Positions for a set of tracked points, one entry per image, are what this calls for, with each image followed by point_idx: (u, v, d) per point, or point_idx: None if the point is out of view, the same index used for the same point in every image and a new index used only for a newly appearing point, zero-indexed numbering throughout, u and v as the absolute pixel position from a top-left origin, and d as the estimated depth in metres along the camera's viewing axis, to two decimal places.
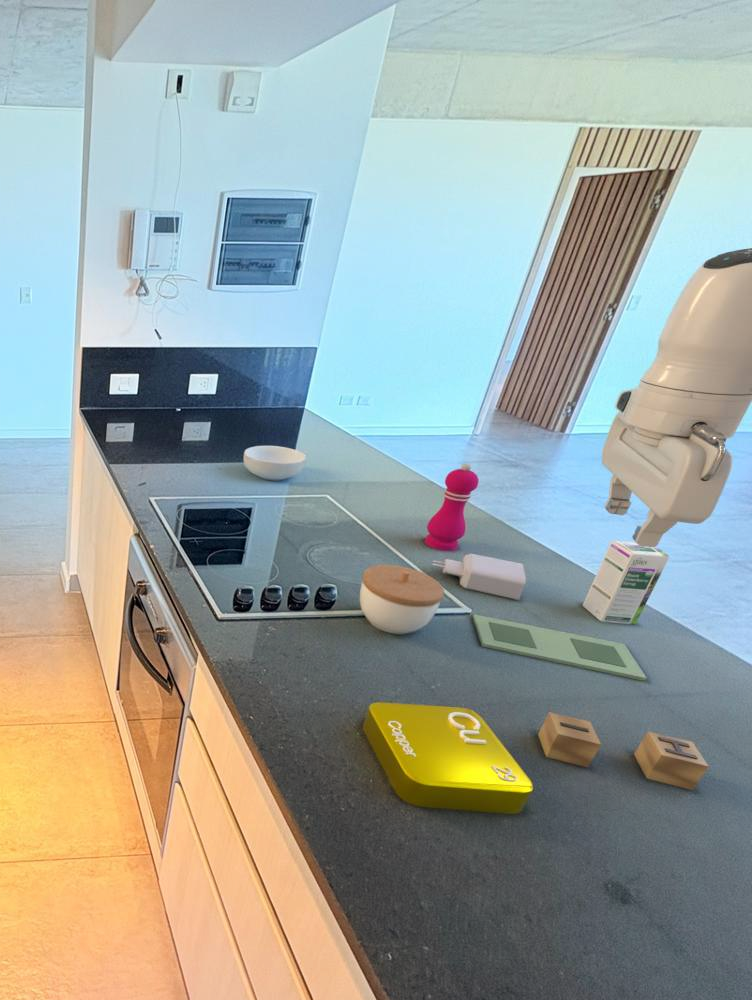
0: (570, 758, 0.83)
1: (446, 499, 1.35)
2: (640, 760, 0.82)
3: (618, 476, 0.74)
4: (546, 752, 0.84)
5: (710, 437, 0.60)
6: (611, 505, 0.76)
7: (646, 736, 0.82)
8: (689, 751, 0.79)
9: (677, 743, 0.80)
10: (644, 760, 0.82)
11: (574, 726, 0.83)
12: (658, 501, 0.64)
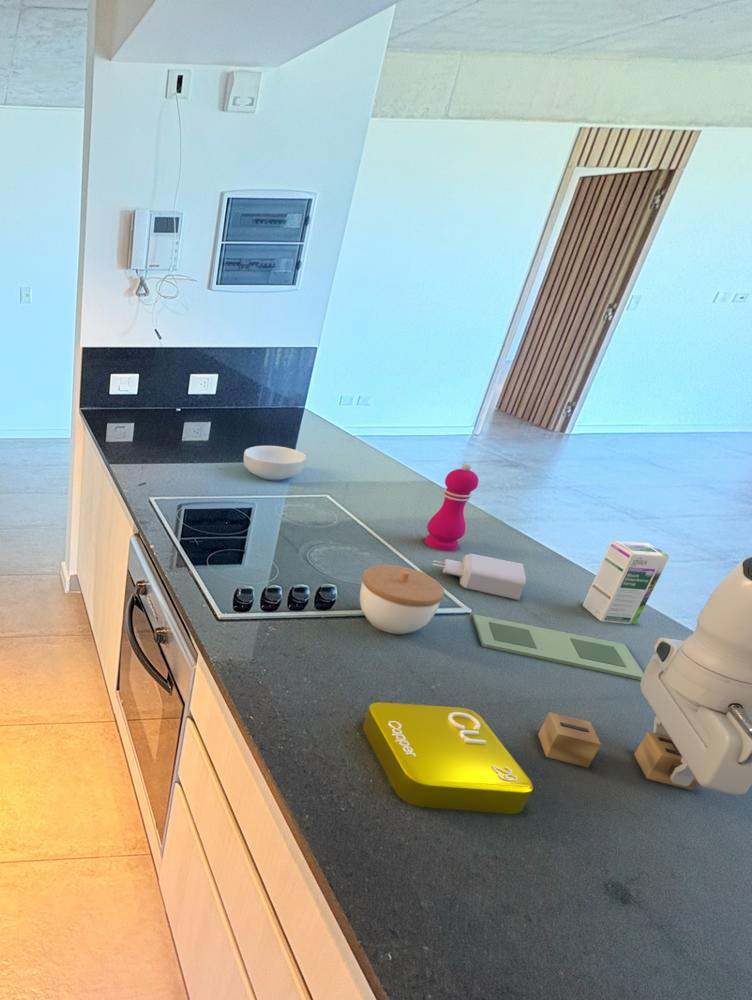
0: (570, 758, 0.83)
1: (446, 499, 1.35)
2: (640, 760, 0.82)
3: (658, 715, 0.82)
4: (546, 752, 0.84)
5: (746, 728, 0.68)
6: None
7: (646, 736, 0.82)
8: None
9: None
10: (644, 760, 0.82)
11: (574, 726, 0.83)
12: (698, 768, 0.72)
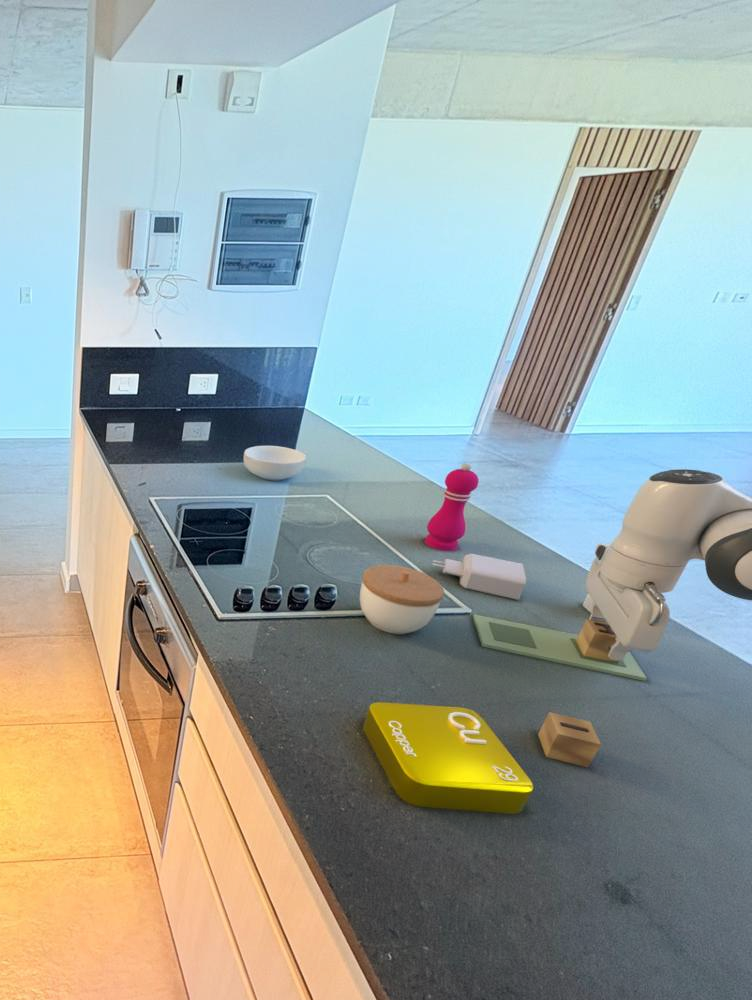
0: (570, 758, 0.83)
1: (446, 499, 1.35)
2: (581, 642, 1.04)
3: (597, 604, 1.03)
4: (546, 752, 0.84)
5: (655, 597, 0.90)
6: None
7: (585, 623, 1.04)
8: None
9: (608, 626, 1.02)
10: (583, 641, 1.03)
11: (574, 726, 0.83)
12: (622, 634, 0.94)
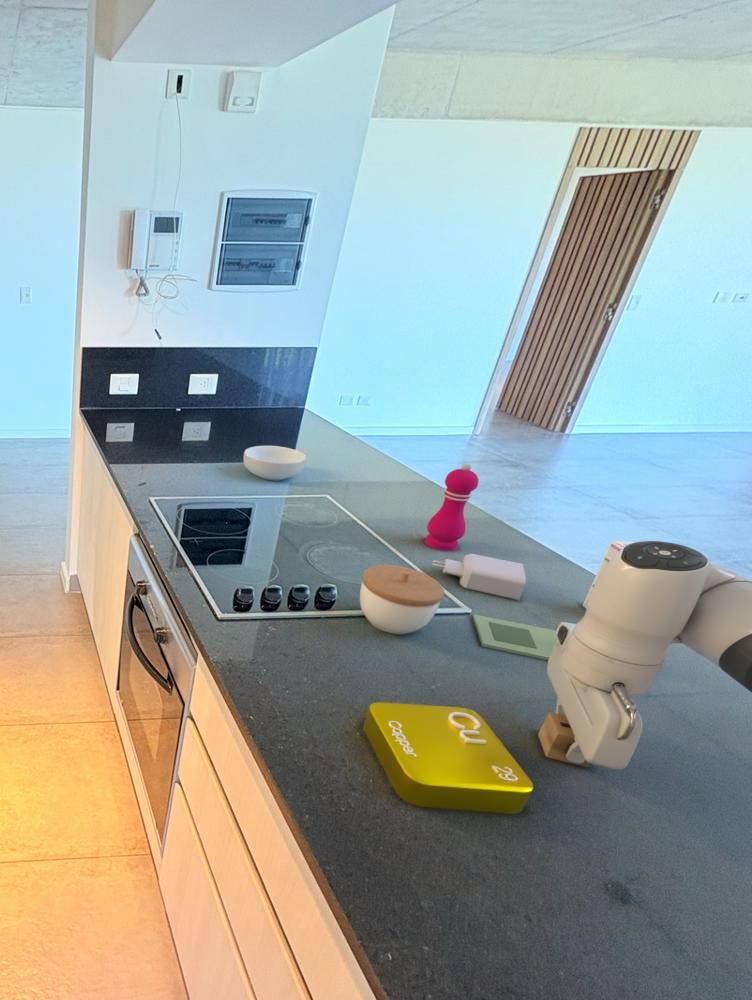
0: None
1: (446, 499, 1.35)
2: None
3: (558, 697, 0.85)
4: (546, 752, 0.84)
5: (624, 705, 0.72)
6: None
7: None
8: None
9: None
10: None
11: None
12: (585, 745, 0.76)
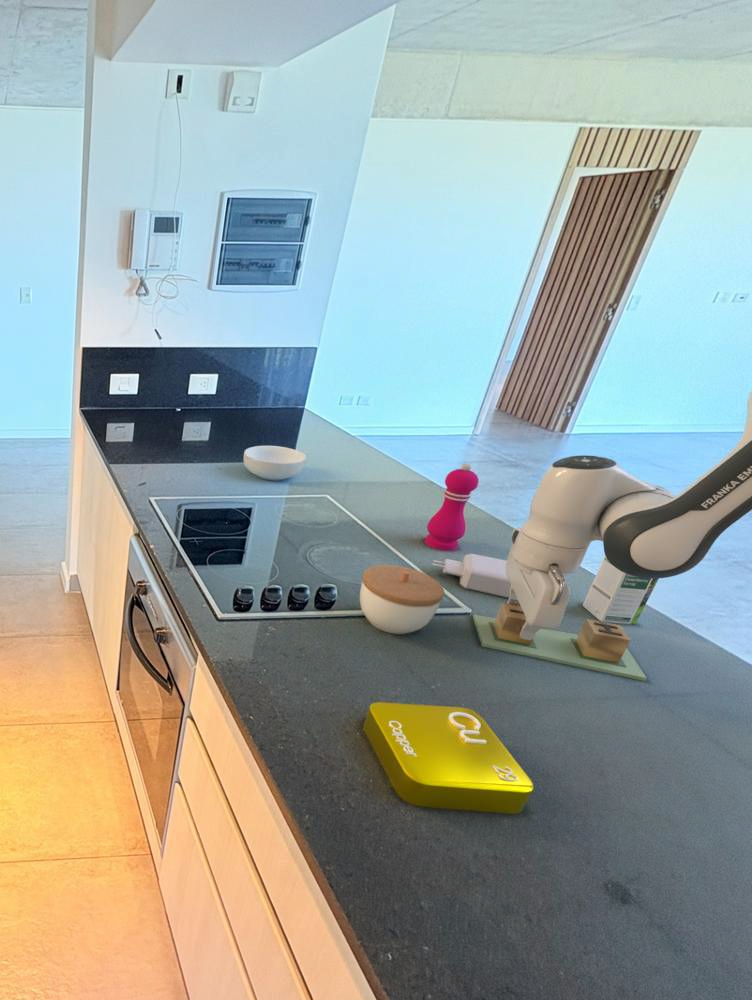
0: (517, 636, 1.06)
1: (446, 499, 1.35)
2: (581, 642, 1.04)
3: (512, 587, 1.07)
4: (499, 633, 1.07)
5: (556, 577, 0.94)
6: (510, 604, 1.10)
7: (585, 623, 1.04)
8: (617, 631, 1.01)
9: (608, 626, 1.02)
10: (583, 641, 1.03)
11: (520, 611, 1.06)
12: (529, 613, 0.98)
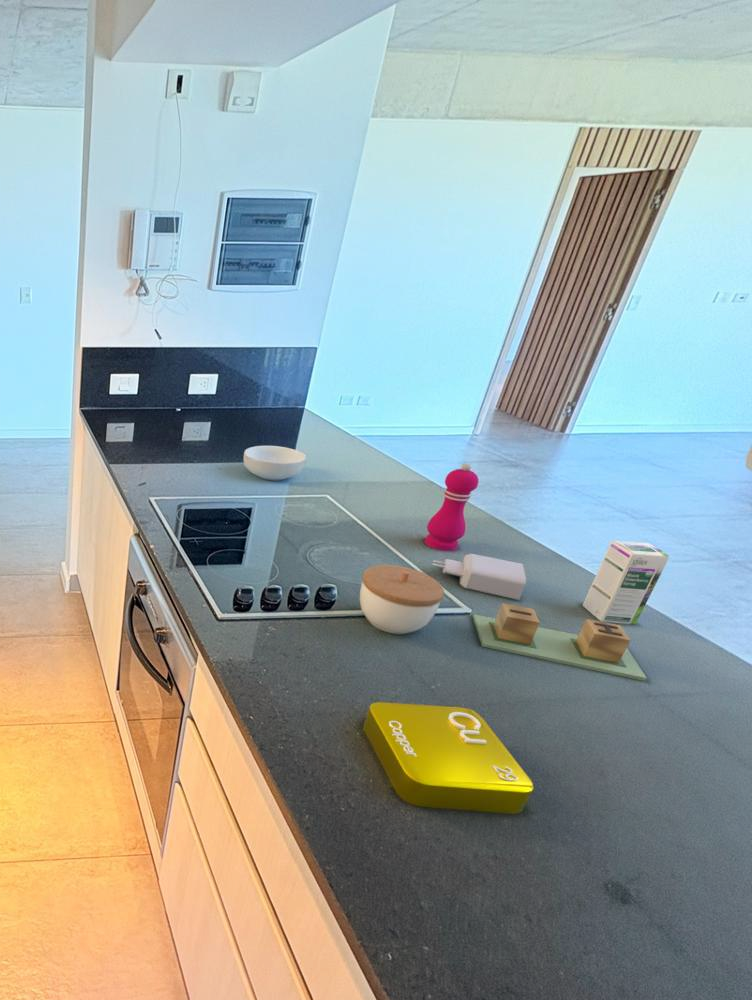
0: (517, 636, 1.06)
1: (446, 499, 1.35)
2: (581, 642, 1.04)
3: None
4: (499, 633, 1.07)
5: None
6: None
7: (585, 623, 1.04)
8: (617, 631, 1.01)
9: (608, 626, 1.02)
10: (583, 641, 1.03)
11: (520, 611, 1.06)
12: None
